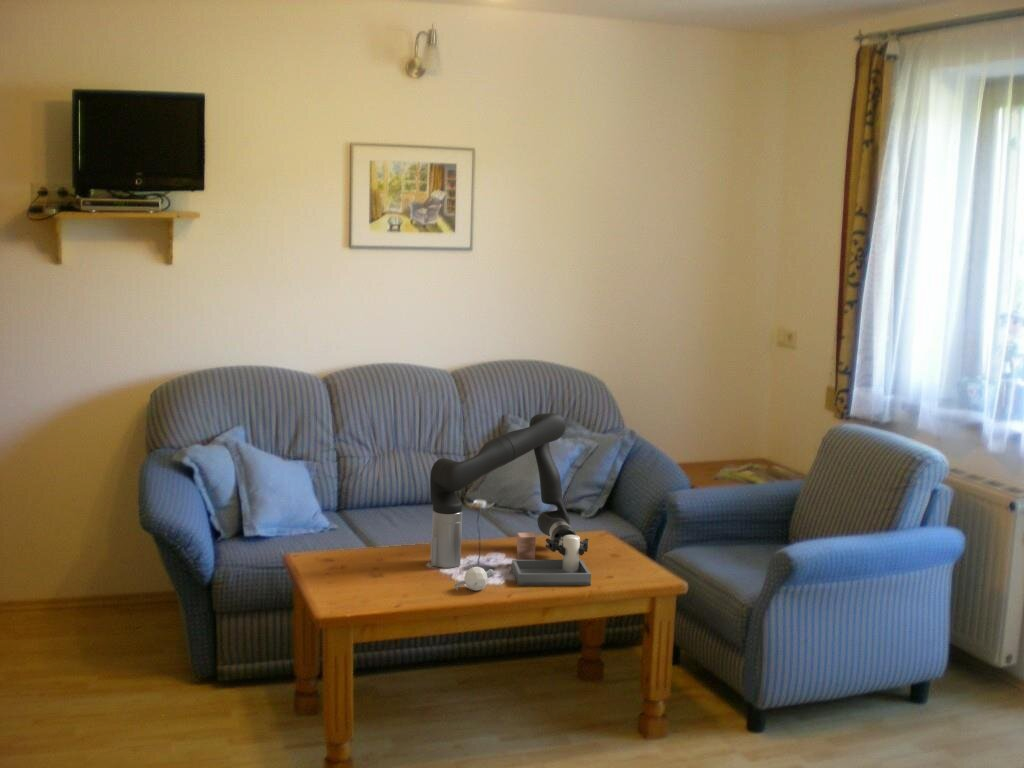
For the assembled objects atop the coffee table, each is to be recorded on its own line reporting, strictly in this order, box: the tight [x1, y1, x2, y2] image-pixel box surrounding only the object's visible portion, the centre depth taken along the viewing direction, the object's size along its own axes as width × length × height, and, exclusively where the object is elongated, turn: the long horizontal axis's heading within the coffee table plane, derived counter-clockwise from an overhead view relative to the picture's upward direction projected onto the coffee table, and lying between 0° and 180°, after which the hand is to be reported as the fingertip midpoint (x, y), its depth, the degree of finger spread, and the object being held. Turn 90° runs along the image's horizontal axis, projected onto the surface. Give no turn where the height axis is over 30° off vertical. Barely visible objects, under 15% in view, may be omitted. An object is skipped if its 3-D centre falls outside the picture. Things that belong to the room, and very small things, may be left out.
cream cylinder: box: [562, 534, 581, 571], centre depth 336 cm, size 5×5×10 cm
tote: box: [511, 559, 592, 587], centre depth 336 cm, size 22×14×4 cm, turn 98°
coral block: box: [515, 532, 537, 560], centre depth 347 cm, size 5×5×10 cm
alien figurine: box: [454, 566, 494, 592], centre depth 323 cm, size 7×7×12 cm
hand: (572, 552), depth 334 cm, fingers closed on cream cylinder, 4 cm apart
